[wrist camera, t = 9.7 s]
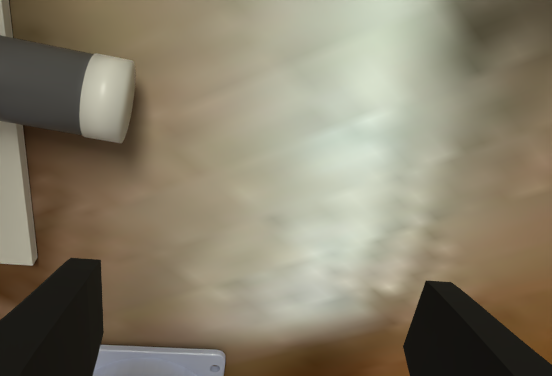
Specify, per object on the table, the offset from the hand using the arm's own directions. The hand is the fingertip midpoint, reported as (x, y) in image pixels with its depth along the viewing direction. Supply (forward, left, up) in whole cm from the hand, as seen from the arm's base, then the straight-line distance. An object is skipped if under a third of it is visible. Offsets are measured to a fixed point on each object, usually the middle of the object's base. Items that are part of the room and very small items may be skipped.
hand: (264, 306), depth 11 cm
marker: (+2, +15, -8) cm, 17 cm away
